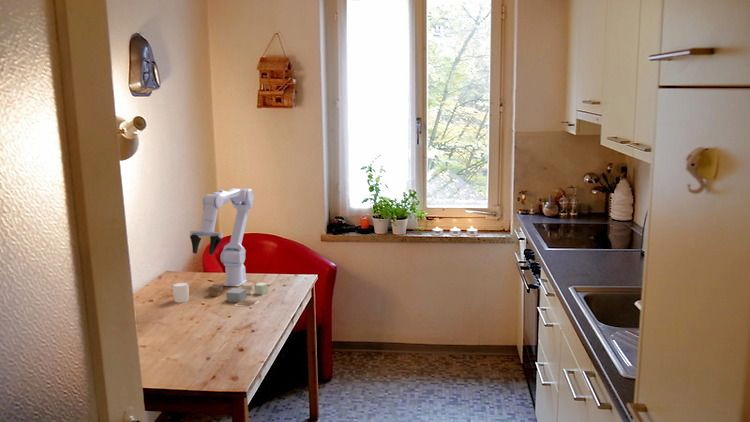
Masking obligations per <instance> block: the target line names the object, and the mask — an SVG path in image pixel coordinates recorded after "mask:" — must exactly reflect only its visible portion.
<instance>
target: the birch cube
mask: <svg viewBox="0 0 750 422" xmlns="http://www.w3.org/2000/svg"><path fill="white" fill-rule="evenodd" d="M241 289H246V295H252V294H253V292H255V289H254V282H248V281H247V282H244V283H243V284H242V285H241Z"/></svg>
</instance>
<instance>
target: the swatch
mask: <svg viewBox="0 0 750 422" xmlns="http://www.w3.org/2000/svg"><path fill="white" fill-rule="evenodd" d="M259 302H260V301H259V300H255V299H253V300H252V299H244V300H242V301H241V302H237V303H236V304H235V305H234V306H235V307H242V308H244V307H245V308H253V307H254V306H255V305H257V304H259Z"/></svg>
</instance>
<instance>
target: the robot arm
mask: <svg viewBox="0 0 750 422" xmlns="http://www.w3.org/2000/svg"><path fill="white" fill-rule="evenodd" d="M254 199H255V195H254V191H253V189H252V188H234V187H233V188H229V190H227V191H226V190H224V189H218V191H216V192H215V191H213V193H212V194H211V193H210V194H209V193H207V194H206V195H204V197H203V199H202V211H203V212H202V218H201V224H200V227H199V230H190V231H189V239H190V241H191V247H192V253H193V254H194V255H196V254H197V253H198V251H199V250H198V249H199V245H200V243H201V240H202V237H203V238H205V237H206V238H209V239H210V240H209V241H210V243H209V249H208V250H209V251H208V254H209V255H211V256H213V255H214V253H215V250H216V249H217V248H218V246H219V244H221V242H222V239H223V237H224V233H223V232H220V231H219V232H218V231H215V229H216V228H215V227H216V224H217V217H218V212H219V209H221V208H222V206H223V205H225V204H228V203H229V202H230V203H231V204H232V207H233V208H234V209H236V211H237V212H236V214H235V215H236V216H235V219H234V225H233V229H232V233H231V236H230V240H229V242H228V243H227V244H226V245H224V246H223V249H222V251H221V253H220V256H219V257H220V261H221V263H222V264H223V266H224V267H225V269H224V270H225V282H224V283H222V284H221V285H222V286H226V287H235V288H237V287H240V286H242V284H243V283H244V282H248V279H247V278H246V277H247V276H246V272H247V271H246V266H245V265H244V263H245V260H246V252H247V250H246V249H245V247H244V246H243V245H242V242H243V238H244V234H245V231H246V226H247V221H248V218H249V213H250V210H251V209H252V207H253V205H254Z"/></svg>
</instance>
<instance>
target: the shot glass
mask: <svg viewBox="0 0 750 422" xmlns="http://www.w3.org/2000/svg"><path fill="white" fill-rule="evenodd" d="M171 287H172V292H173V293H172V294H173V298H174V302H175V303H180V304H182V303H186V302H188V301H189V293H190V289H189V287H190V284H189V283H188V282H186V281H185V282H183V281H182V282H181V281H180V282H176V283H173V284H171Z"/></svg>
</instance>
